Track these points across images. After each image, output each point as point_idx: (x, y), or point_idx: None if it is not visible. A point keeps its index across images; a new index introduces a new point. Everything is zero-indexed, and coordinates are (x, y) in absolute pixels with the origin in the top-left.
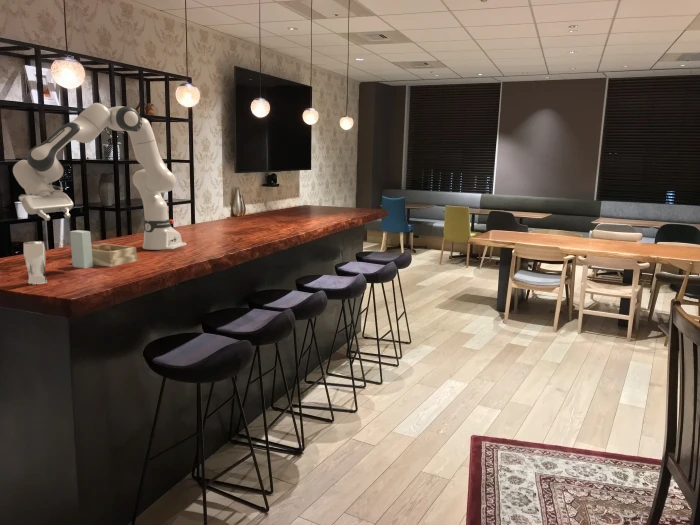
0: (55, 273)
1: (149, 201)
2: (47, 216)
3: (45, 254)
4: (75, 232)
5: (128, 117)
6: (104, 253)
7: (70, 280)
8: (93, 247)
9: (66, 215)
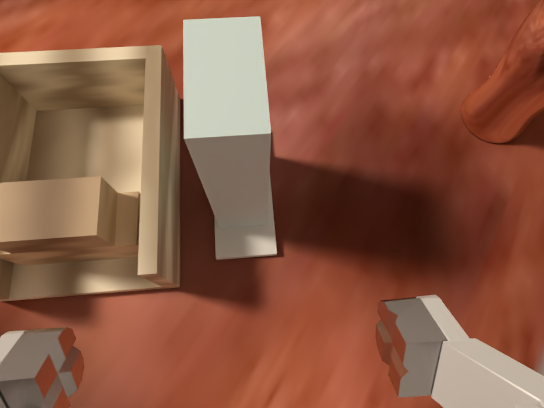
0: (368, 205)
1: None
2: (426, 314)
3: (534, 7)
4: (264, 78)
5: None
6: (163, 85)
7: (393, 62)
8: (102, 210)
9: (62, 352)
